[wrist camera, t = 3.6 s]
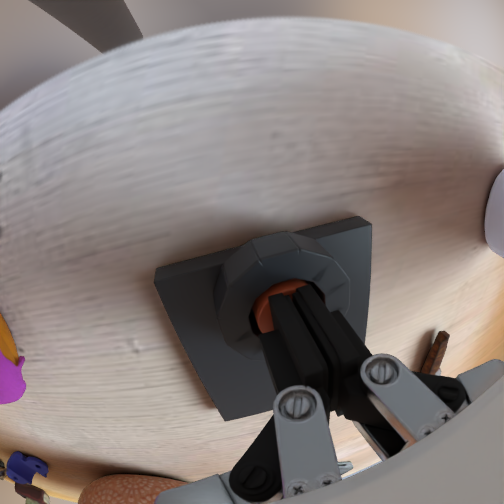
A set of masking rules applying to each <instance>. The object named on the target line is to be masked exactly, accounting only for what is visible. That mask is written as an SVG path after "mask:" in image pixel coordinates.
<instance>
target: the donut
mask: <svg viewBox="0 0 504 504" xmlns="http://www.w3.org/2000/svg"><path fill="white" fill-rule="evenodd" d="M24 361H25V358H24V357H23V356H20V357H18V353H17V350H16V346H15V343H14V340H13V337H12V335H11V333H10V330H9V328H8V326H7V324H6V322H5V320H4V318H3V317H2V315H1V313H0V404H7V403H11V402H15V401H17V400H19V399H20V398H21V397H22V395H23V393H24V391H25V389H26V383H25V381H24V380H23V377H22V373H21V368H22V366H23V363H24Z"/></svg>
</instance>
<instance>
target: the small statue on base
mask: <svg viewBox="0 0 504 504" xmlns="http://www.w3.org/2000/svg"><path fill="white" fill-rule="evenodd" d="M15 491H16V492H17V493H18V494H19V495H21V496H22V497H24V498H26V504H49V496H48V495H47V494H46V493H45V492H44V491H43V490H42V489H39V488H37V487H35V486H32V485H30V484H28V483H26V484H20V483H17V482H15Z"/></svg>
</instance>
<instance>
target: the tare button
mask: <svg viewBox="0 0 504 504" xmlns="http://www.w3.org/2000/svg"><path fill="white" fill-rule="evenodd" d="M305 285H308V283H307V282H306V281H305V280H300V279H295V278H294V279H291V280H287V281H284V282H280V283H277V284H273V285H272V286H271V287H269V288H268V289H267V290H266V291H265V292H264V293H262V294H261V295H260V296H259V297H258V298H256V299H255V302H254V304H253V307H252V310H253V312H254V315H255V318H256V321H257V324H258V327H259V329H260V331H261V332H262V333H266V332H269V331H273V330H274V326H273V321H272V316H271V311H270V306H269V301H268V296H271V295H275V294H278V293H283V295H284V296H285V295H289V296H290V298H291V300H292V293H295V292H296V288H299V287H302V286H305ZM292 302H293V301H292Z"/></svg>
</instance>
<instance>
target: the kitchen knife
mask: <svg viewBox="0 0 504 504" xmlns="http://www.w3.org/2000/svg"><path fill="white" fill-rule="evenodd" d="M449 336H450V335H449V334H448V333H447V332H445V331H439V333H438V335H437V337H436V339H435V342H434V344H433V345H432V347H431V349H430V351H429V354H428V356H427V358H426V361H425V363H424V365H423V367H422V370H421V373H425V374H431V375H438V376H440V375H441V369H440V368H439V367H440V364H441V362H442V359H443V356H444V354H445V351H446V348H447V343H448V339H449Z"/></svg>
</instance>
